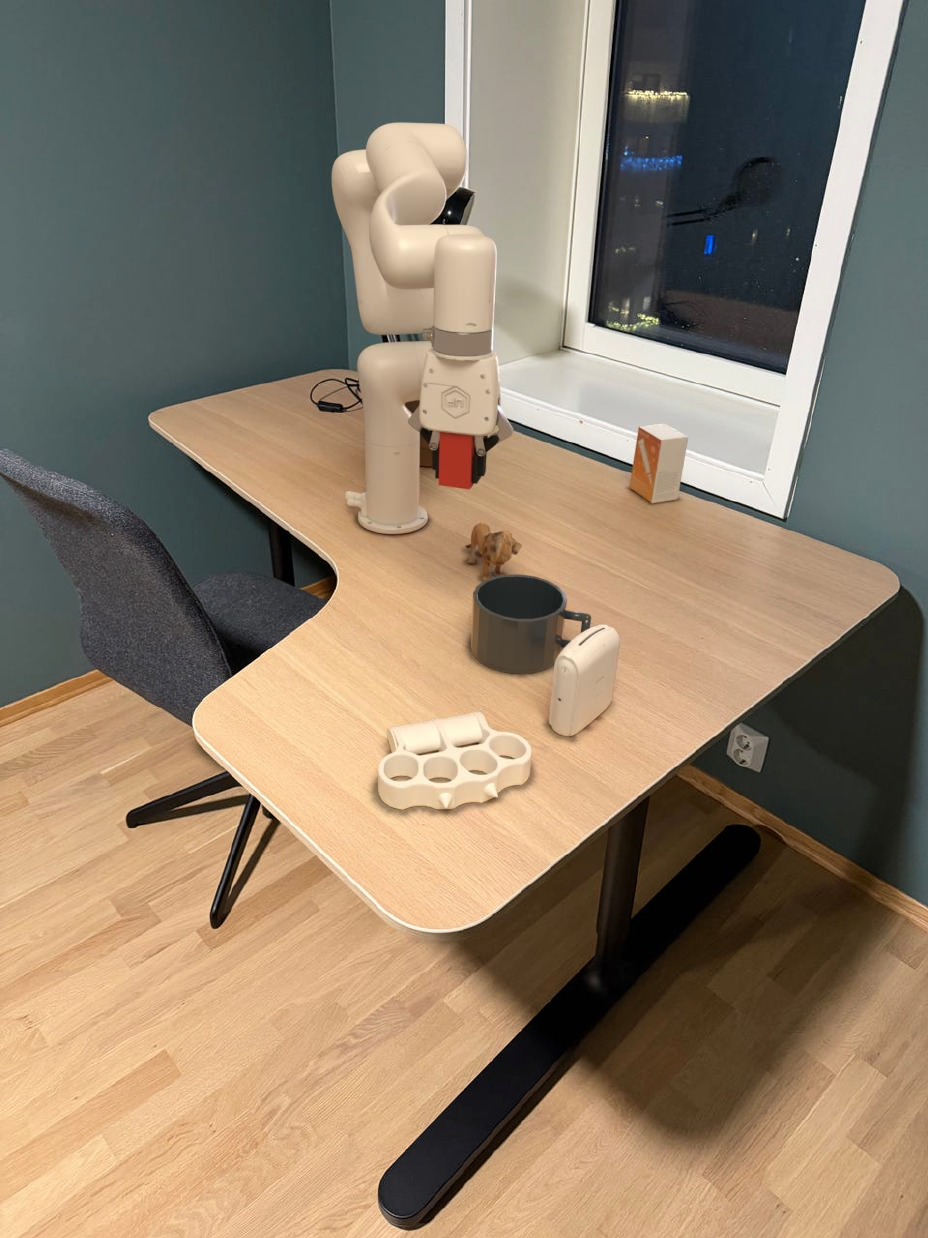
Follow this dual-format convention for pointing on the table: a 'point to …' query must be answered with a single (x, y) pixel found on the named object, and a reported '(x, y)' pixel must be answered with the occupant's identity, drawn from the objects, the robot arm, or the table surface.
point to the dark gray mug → (520, 623)
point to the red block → (456, 460)
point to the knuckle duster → (451, 762)
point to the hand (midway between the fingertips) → (458, 476)
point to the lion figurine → (492, 548)
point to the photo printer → (584, 679)
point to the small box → (658, 462)
